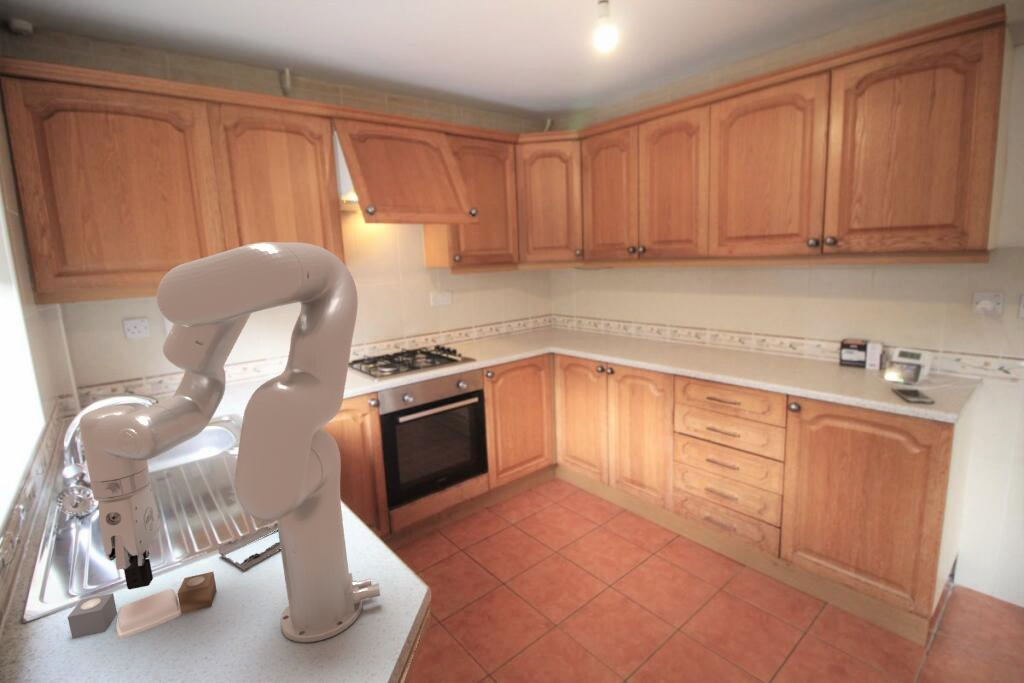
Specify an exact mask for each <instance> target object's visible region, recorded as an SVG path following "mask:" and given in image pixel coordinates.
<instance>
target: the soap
mask: <svg viewBox="0 0 1024 683" xmlns="http://www.w3.org/2000/svg"><path fill="white" fill-rule="evenodd" d="M117 614H118V616H117V619H116V623H115V624H116V625H115V628H116V629H115V630H116V634H117V637H118V639H119V640H122V639H125V638H128V637H130V636H134V635H136V634H140V633H142V632H143V631H147V630H149V629H151V628H154V627H156V626H160V625H161V624H163V623H166V622H168V621H170V620H173V619H174V618H175V619H176V618H177V617H180V616H181V615H182V614H181V609H180V604H179V599H178V594H177V593H176V592H175V590H174V589H173V588H169V589H166V590H163V591H160V592H157V593H155V594H151V595H149V596H145V597H143V598H140V599H137V600H135V601H133V602H131V603H129V604H126V605H123V606H121V607H120V608H119V610H118V613H117Z"/></svg>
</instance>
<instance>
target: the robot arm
mask: <svg viewBox="0 0 1024 683" xmlns="http://www.w3.org/2000/svg"><path fill="white" fill-rule="evenodd" d="M358 298H359V297H358V291H357V286H356V282H355V280H354V277H353V276H352V274H351V272H350V270H349V269H348V267H347V266H346V265H345V263H344V262H343V260H341V259H340V258H339V257H338V256H336V255H335V254H334V253H333V252H331V251H330V250H327V249H326V248H324V247H322V246H319V245H315V244H312V243H305V242H281V241H280V242H279V241H277V242H274V241H273V242H272V241H264V242H263V241H262V242H255V243H250V244H245V245H241V246H239V247H235V248H232V249H228V250H225V251H222V252H219V253H216V254H213V255H209V256H206V257H202V258H199V259H196V260H191V261H188V262H185V263H182V264H179V265H177V266H175V267H173V268H172V269H170V270H168V272H167V273H166V274H165V275H164V276H163V277H162V278H161V280H160V282H159V284H158V287H157V292H156V304H157V307H158V309H159V311H160V312H161V315H163V317H164V318H165V319H166V320H167V321H168V322H170V323H172V326H171V329H170V330H169V333H168V335H167V336H166V338H165V340H164V343H163V345H162V352H163V355H164V356H165V358H166V359H167V360H168V361H169V363H171V364H172V365H174V366H175V367H177V368H179V369H181V370H182V371H184V375H183V376H182V379H181V381H180V382H179V385H178V387H177V389H176V390H175V392H174V394H173V395H172V397H171V398H168V399H165V400H163V401H160V402H158V403H155V404H152V405H150V406H148V407H145V408H143V409H139V410H138V409H136V408H135V407H134V406H132V405H127V404H126V405H124V404H121V405H120V404H118V405H111V406H103V407H100V408H97V409H92V410H89V411H88V412H86V413H84V414H83V415H82V416H81V418H80V419H79V425H78V426H79V430H80V436H81V441H82V446H83V451H84V455H85V456H84V457H85V462H86V467H87V472H88V476H89V482H90V487H91V491H92V495H93V496H92V498H93V500H94V501H96V502H98V516H99V525H100V534H101V541H102V545H103V551H104V554H105V555H104V556H106V557H105V558H106V559H107V560H108V561H110V562H111V561H114V560H115V564H116V566H115V568H116V570H123V571H124V572H123V574H124V577H125V583H126V589H128V590H134V589H139V588H144V587H149V586H150V584H151V583H152V581H153V579H154V576H153V570H152V565H151V560H150V545H151V544H152V542H153V541H154V539H155V538H156V536H157V535H158V533H159V531H160V529H161V522H160V516H159V512H158V508H157V503H156V500H155V499H156V498H155V497H154V496H155V495H154V492H153V490H152V487H151V485H152V482H151V481H152V480H151V476H150V475H151V474H150V471H149V463H148V461H149V460H153V459H154V458H157V457H158V456H159V457H160V456H161V455H163V454H164V453H166V452H168V451H170V450H172V449H173V448H175V447H178V446H179V445H182V444H183V443H186V442H187V441H189V440H191V439H193V438H195V437H197V436H198V435H199V434H201V433H202V432H203V431H204V430H205V429H206V427H207V426H208V425H209V423H210V422H211V420H212V419H213V417H214V415H215V413H216V411H217V410H218V407H219V406H220V405H221V402H222V400H223V397H224V395H225V391H226V379H227V378H226V371H225V367H224V366H225V363H226V362H227V360H228V359H229V356H230V354H231V353H232V350H233V348H234V346H235V345H236V343H237V341H238V339H239V337H240V335H241V334H242V331H243V329H244V328H245V326H246V324H247V322H248V320H249V318H250V317H251V315H252V314H253V313H256V312H260V311H264V310H269V309H272V308H276V307H281V306H282V307H283V306H287V305H291V304H296V303H299V304H300V306H301V307H300V312H299V315H298V316H297V319H296V322H295V324H294V327H293V330H292V332H291V336H290V344H289V352H288V357H287V362H286V366H285V369H284V370H283V371H282V373H281V374H280V375H277V376H275V377H272V378H271V379H269V380H266V381H265V382H264V383H262V384H261V385H260V386H259V387H258V388H256V389H255V391H254V392H253V393H252V394H251V396H250V398H249V400H248V402H247V403H246V406H245V409H244V412H243V417H242V424H241V429H240V430H241V431H240V436H239V446H238V451H237V459H236V465H235V467H236V468H235V473H234V475H235V477H234V487H235V495H236V498H237V500H238V502H239V505H240V506H241V508H242V510H244V511H245V512H246V513H247V514H248V515H249V516H251V517H252V518H253V519H256V520H259V521H263V522H264V521H266V522H272V521H276V523H277V524H278V531H277V533H278V538H279V539H278V540H279V541H278V542H280V547H281V550H280V552H281V553H280V554H281V561H282V566H283V567H282V568H283V574H284V582H285V589H286V594H287V595H286V596H287V602H288V606H287V607H286V608H285V609H284V611H283V612H282V614H281V617H280V622H279V623H280V629H281V632H282V634H283V635H284V636H285V637H286V638H287V639H289V640H291V641H293V642H294V641H295V642H298V643H314V642H319V641H323V640H326V639H330V638H331V637H333V636H336V635H338V634H340V633H341V632H343V631H345V630H346V629H348V628H349V627H351V625H352V624H353V623H354V622H355V621H357V619H358V617H359V616H360V614H361V612H362V610H363V600H366V599H373V598H378V597H380V596H381V593H380V592H381V590H380V584H379V583H374V584H372V579H371V578H366V579H363V580H360V581H357V580H354V579H353V573H352V572H350V570H349V563H348V561H349V560H348V554H347V547H346V546H347V545H346V538H345V530H344V523H343V521H344V520H343V512H342V511H343V510H342V501H341V469H342V468H341V467H342V466H341V465H342V464H341V462H342V461H341V453H340V452H341V451H340V448H339V445H338V442H337V441H336V439H335V438H334V436H332V435H331V433H329V432H328V431H327V430H325V429H323V428H324V426H326V425H328V424H329V423H330V421H332V420H333V419H334V418H335V417H337V415H338V413H339V412H340V410H341V408H342V407H343V406H342V405H343V401H344V394H345V387H346V382H347V377H348V372H349V363H350V359H351V352H352V350H351V349H352V344H353V338H354V333H355V326H356V321H357V316H358V315H357V314H358V308H359V307H358V304H359V303H358V301H359V300H358Z"/></svg>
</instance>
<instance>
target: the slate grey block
mask: <svg viewBox="0 0 1024 683" xmlns="http://www.w3.org/2000/svg"><path fill="white" fill-rule="evenodd" d="M114 596H115V595H114V593H113V592H112V593H108V594H103V595H97V596H93V597H87V598H83V599H81V600H79V602H78V603H77V604H76V606H75V607H74V608H73V610H72V611H71V612H70V613H69V615H68V616H67V621H68V626H69V631H70V634H71V639H72V640H73V639H77V638H82V637H88V636H92V635H96V634H100V633H106V632H107V630H108V628H109V627H110V625H112V623H113V621H114V620H115V617H116V616H117V614H118V610H117V606H116V600H115V597H114Z"/></svg>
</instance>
